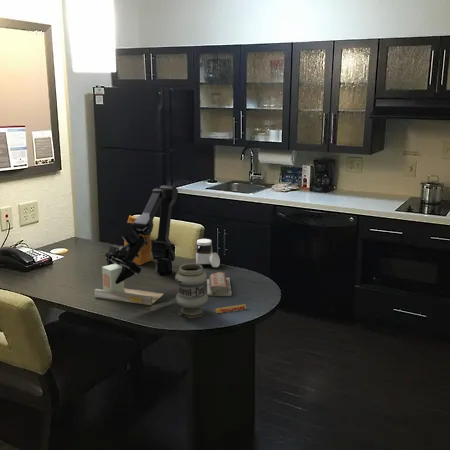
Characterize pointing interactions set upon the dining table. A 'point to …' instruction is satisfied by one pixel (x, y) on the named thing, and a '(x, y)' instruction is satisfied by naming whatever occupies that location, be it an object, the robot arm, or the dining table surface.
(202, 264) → the spread jar
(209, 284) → the packaged product
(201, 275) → the apothecary jar
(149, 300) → the shelf
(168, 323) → the dining table surface
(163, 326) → the dining table surface
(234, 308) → the chocolate bar
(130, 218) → the coffee package
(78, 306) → the dining table surface
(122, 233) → the robot arm
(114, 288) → the carton
